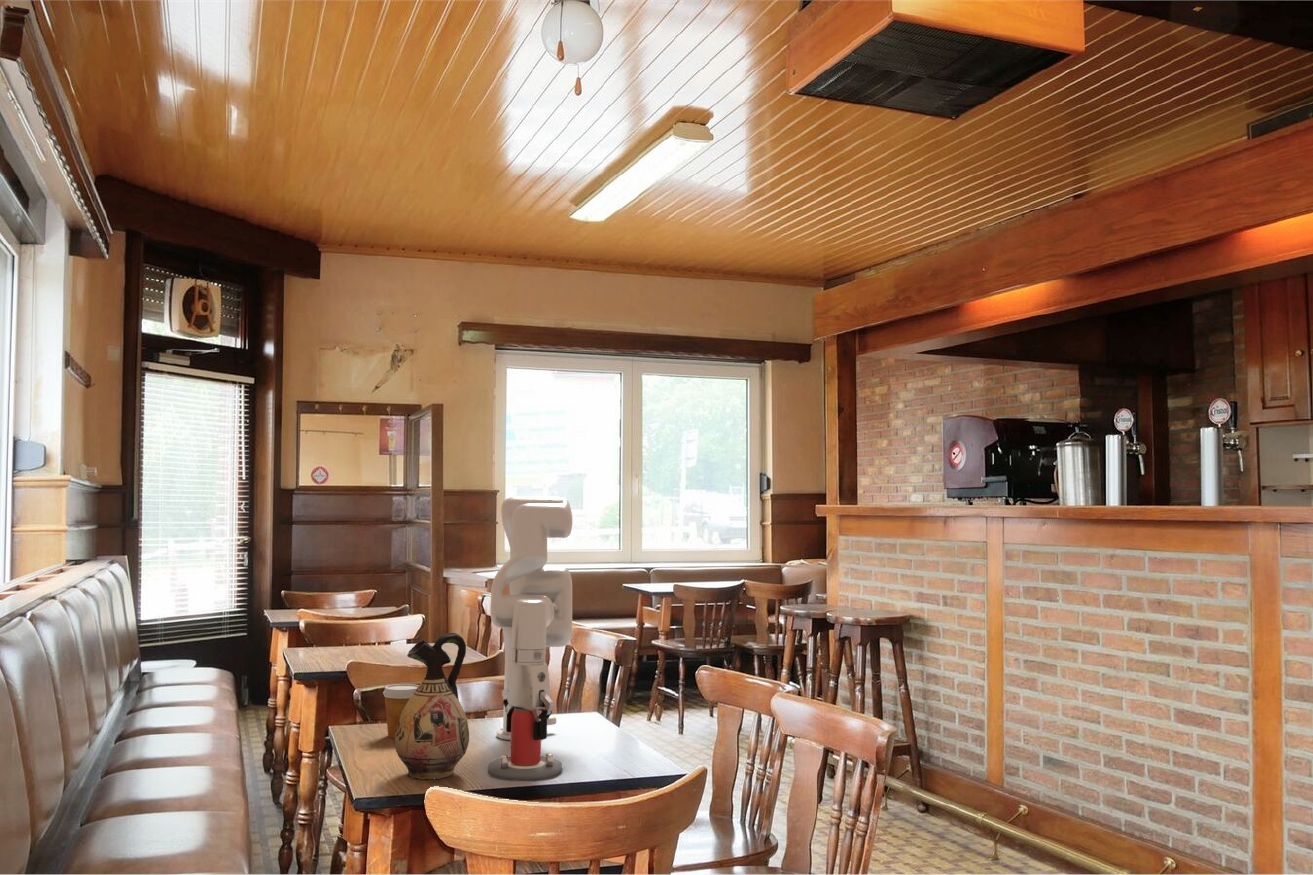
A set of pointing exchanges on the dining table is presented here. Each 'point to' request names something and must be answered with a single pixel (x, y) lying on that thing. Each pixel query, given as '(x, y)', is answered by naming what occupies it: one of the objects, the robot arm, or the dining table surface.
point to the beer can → (524, 739)
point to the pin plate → (525, 770)
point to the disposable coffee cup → (396, 704)
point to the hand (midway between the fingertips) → (526, 735)
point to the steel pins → (505, 761)
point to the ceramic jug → (434, 715)
